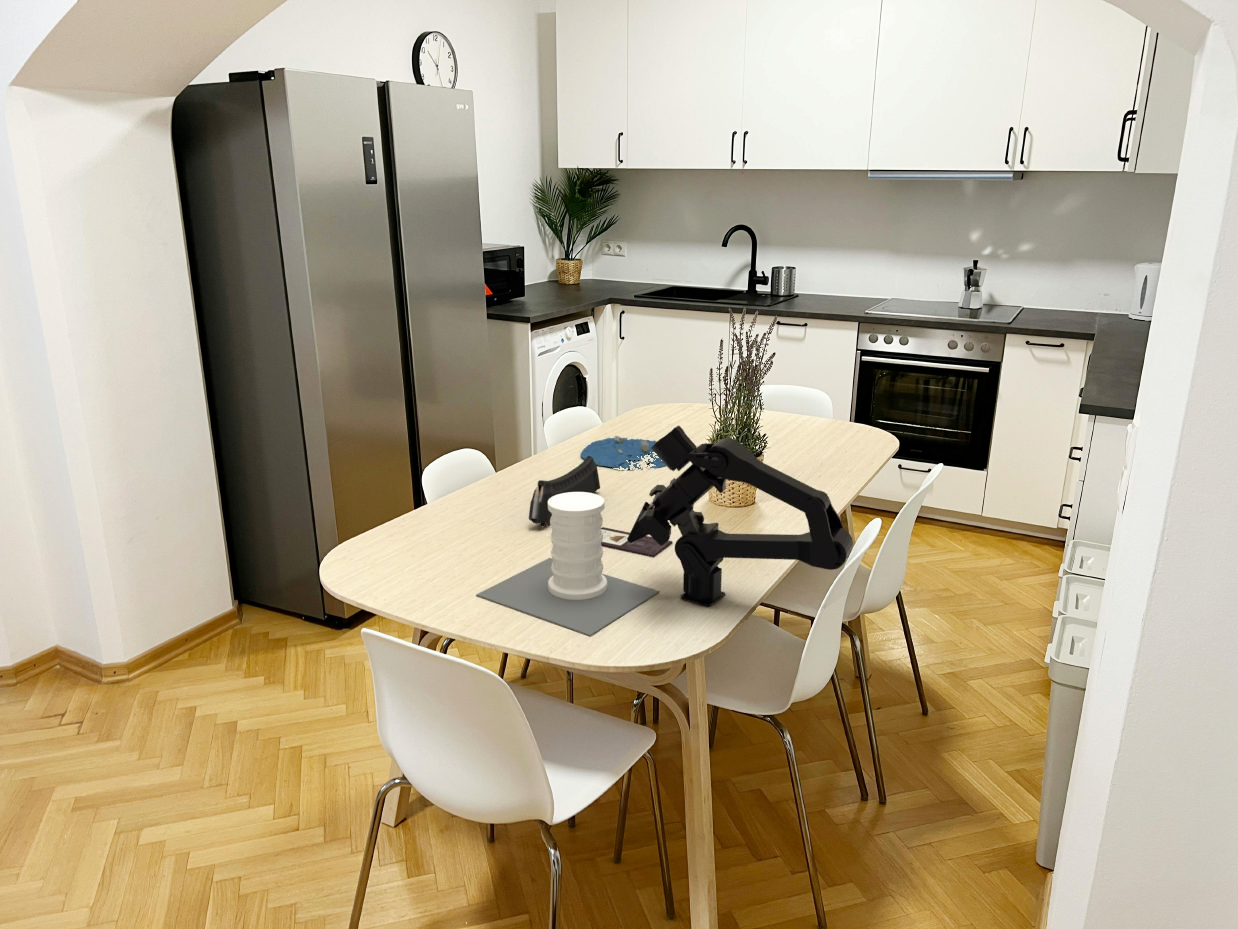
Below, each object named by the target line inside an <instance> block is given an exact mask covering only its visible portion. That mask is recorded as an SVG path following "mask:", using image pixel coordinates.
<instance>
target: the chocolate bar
mask: <svg viewBox="0 0 1238 929" xmlns="http://www.w3.org/2000/svg"><path fill="white" fill-rule="evenodd" d="M601 531H602V534H603V540H602V542H601V546H602V548H608V549H611V550H616V551H620V552H624V553H625V552H626V553H630V554H636V555H638V556H640V555H641V556H644V557H649V558H653V559H654V558H655V557H656V556H658V555H659V554H661V553H662V552H664V551H665V550H666V549H668V548H669V547H670V546H671V545H673V540H668V541H667V542H666V543H665V544H663V545H662V546H661V545H659V544H658V543H657V542H656V541H655V540H654V539H653V538H652V537H651V536H650V535H647V536H645V537H643V538H641V539H639V540H637V541H635V542H632V543H630V542H629V541H628V540H627V538H628V536H629V534H630V532H629V531H623V530H619V529H615V528H614V529H613V528H609V527H603V526H602V527H601Z"/></svg>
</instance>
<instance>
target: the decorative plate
mask: <svg viewBox="0 0 1238 929" xmlns="http://www.w3.org/2000/svg"><path fill="white" fill-rule="evenodd" d="M656 442H657V441H656V440H654V439H653V440H649V439H642V438H637V439H636V438H631V439H628V437H621V436H620V435H615V436H614V437H607V438H604V439H599V440H595V441H592V442H591V443H590V444H588V445H586V446H585V447H584V448H583V449H582V451H581V452H580V457H581V459H583V461H584V460H585V459H586V457H587V456H591V457H593V460H594V462H595V464H596V465H597V467H603V466H605V467H610V468H611V467H612V468H611V469H613V468H619V469H620V466H621V467H622V468H624V469H626V468H628V469H630V466H629V465H631V463H628V462H629V460H630V462H631V461H632V462H633V463H636V461H637V462H638V463H636V464H634V465H633V466H634V467H635V469H636V468H638V469H637V470H639V469H641V465H639V467H640V468H639V467H637V464H639V461H642V459H641V456H642V458H644V456H645V455H647V454H651V455H650V457H651V458H653V459H654V460H655V459H656V460H655V461H654V460H653V462H651V461H649V460H650V459H648V462H649V463H651V464H654V465H657V466H652V467H650V468H649V469H651V468H655V469H657V468H661V467H667V466H666V465H665V464H664V462H663V461H661V459H660V458H656V457H655V456H657V455H655V456H654V457H655V458H654V457H653V454H654V453H652V452H654V451H653V450H652V449H651V447H652V446H653V445H654V444H655V443H656ZM650 452H651V453H650ZM637 456H638V457H639V458H638V457H637ZM644 459H645V458H644ZM626 460H628V462H627V461H626ZM634 460H635V461H634ZM638 460H639V461H638ZM645 462H646V461H645ZM646 463H647V462H646ZM647 464H648V463H647ZM649 466H650V465H649ZM634 467H633V468H634ZM647 467H648V466H647ZM647 467H646V468H647Z"/></svg>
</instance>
